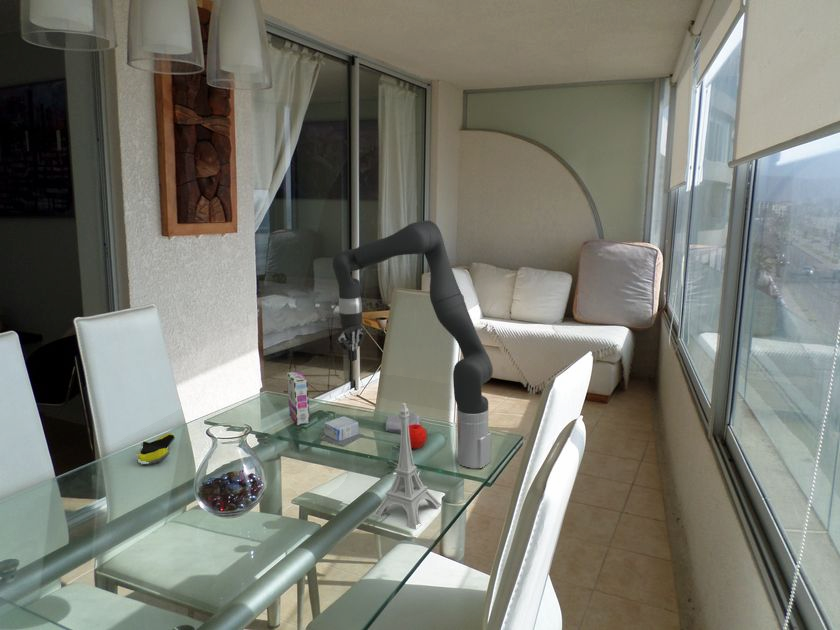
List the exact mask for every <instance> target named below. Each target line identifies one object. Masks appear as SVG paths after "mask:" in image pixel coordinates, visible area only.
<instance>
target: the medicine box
mask: <svg viewBox="0 0 840 630" xmlns="http://www.w3.org/2000/svg"><path fill="white" fill-rule="evenodd" d="M323 423H324V426H323V429H324V435H325V436H329V437H331V438H333V439H335V440H337V441H341V440H344V439H346V438H349V437H352V436H355V435H357V434H360V429H359V422H358V421H356V420H354V419H351V418H350V417H347V416H345V415H343V416H340V417H337V418H334V419H331V420H328V421H325V422H323Z"/></svg>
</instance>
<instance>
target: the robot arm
mask: <svg viewBox="0 0 840 630" xmlns="http://www.w3.org/2000/svg"><path fill="white" fill-rule="evenodd" d="M446 249H447V248H446V245H445V241H444V238H443V235H442V232H441V230H440V228H439V226H438V225H437V224H436V223H435V222H433V221H432V220H422V221H416V222H412V223H410V224H408V225H406V226H404V227H403V228H401V229H400V230H398V231H396V232H395V233H392V234H391V235H388V236H386V237H382V238H378V239H375V240H372V241H368V242H366V243H364V244H361V245H359V246H358V247H355V248H351V249H347V250H342V251H337V252H336V253H334V256H333V257H332V269H333V272H334V276H335V278H336V279H335V280H336V282H337V284H338V299H339V300H338V312H339V313H338V314H339V325H340V326H341V333H340V335H339V336H337V337H336V341H337V342H338V343H339V345H340V346H341V348H342V349H343V350H346V351H347V359H348V360H349V362H354V361H357V358H358V353H357V352H358V351H357V350H359V347H361V346H362V344H363V342H364V338H365V336H366V333H367V330H366V329H363V328H362V324H363V303H362V298H361V283H360V280H359V279H357V278H353V277H352V275H351V272H356V271H359V270H363V269H364V268H366V267H370V266H373V265H377V264H379V263H382V262H385V261H386V260H390V259H391V258H393V257H394V258H395V257H398V256H404V255H422V254H424V256H425V259H426V261H427V264H428V268H429V273H430V279H429V298H430V302H431V305H432V307H433V311H434V314H435V315H436V318H437V320H438V322H439V323H440V324H441V325H442V326H443V328H445V330H446V331H447V332H448V333H449V334H450V335H451V336H452V337H453V338H454V340H455V341H456V342H457V345H458V347H459V349H460V351H461V354H462V357H463V358H462V359H460V360H458V361H457V362H456V363H455V365H454V367H453V370H452V371H453V373H452V379H453V380H452V381H453V396H454V400H455V403H456V407H457V408H456V411H457V413H456V414H457V415H456V416H457V417H456V418H457V419H456V421H457V429H456V430H457V463H458V464H459V465H460V464H461V465H462V466H461V465H460V466H461V467H463V466H466V467H471V468H470V469H478V468H482V467H483V468H484V466H485V465H486V466H487V465H489V464H490V463H491V462H492V432H491V431H489V400H488V398H487V397H486V396H484V395H483V393H482V385H483V384H485V383H487V382H488V381H490V380H491V378H492V377H493V373H494V369H493V364H492V363H493V362H492V361H491V358H490V357H489V354H488V352H487V351H486V349H485V347H484V344H483V343H482V340H481V339H480V337H479V335H478V333H477V330H476V328H475V325H474V323H473V321H472V318H471V315H470V312H469V310H468V308H467V304H466V301H465V299H464V297H463V294H462V291H461V289H460V287H459V284H458V282H457V279H456V277H455V274H454V271H453V269H452V266H451V263H450V259H449V255H448V252H447V250H446ZM488 463H489V464H488ZM486 466H485V467H486ZM466 467H465V468H466ZM483 468H482V469H483Z"/></svg>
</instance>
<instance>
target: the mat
mask: <svg viewBox="0 0 840 630" xmlns="http://www.w3.org/2000/svg"><path fill="white" fill-rule="evenodd" d="M361 436H362V437H364V434H363V433H359V434H357V435H355V436H352V437H349V438H346V439H344V440H341V441H337V440H335V439H333V438H331V437H329V436H327V435H325V436H323V437H321V438H320V440H321V441H324V442H326V441H327V443H330V442H332V443H331V444H333V443H335V444H334V445H336V444H338V445H337V446H339V445H340V447H342V446H344V447H345V445H346V444H347V445H349V444H351V443H352V442H351V441H353V440H355V439H357V438H359V437H360V438H362V437H361ZM360 438H359V439H360ZM357 440H358V439H357ZM355 441H356V440H355ZM350 442H351V443H350ZM353 442H354V441H353ZM348 443H349V444H348ZM347 445H346V446H347Z"/></svg>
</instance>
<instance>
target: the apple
mask: <svg viewBox="0 0 840 630" xmlns="http://www.w3.org/2000/svg"><path fill="white" fill-rule="evenodd" d="M427 435H428V434H427V431H426V429H425V428H424V427H423V426H422V425H421V424H420V425H418V424H414V425H409V436H410V444H411V449H412V448H413V449H412V450H418V449H420V448H422V446H424V445H425V443H426V441H427V437H428V436H427ZM417 448H418V449H417Z"/></svg>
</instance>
